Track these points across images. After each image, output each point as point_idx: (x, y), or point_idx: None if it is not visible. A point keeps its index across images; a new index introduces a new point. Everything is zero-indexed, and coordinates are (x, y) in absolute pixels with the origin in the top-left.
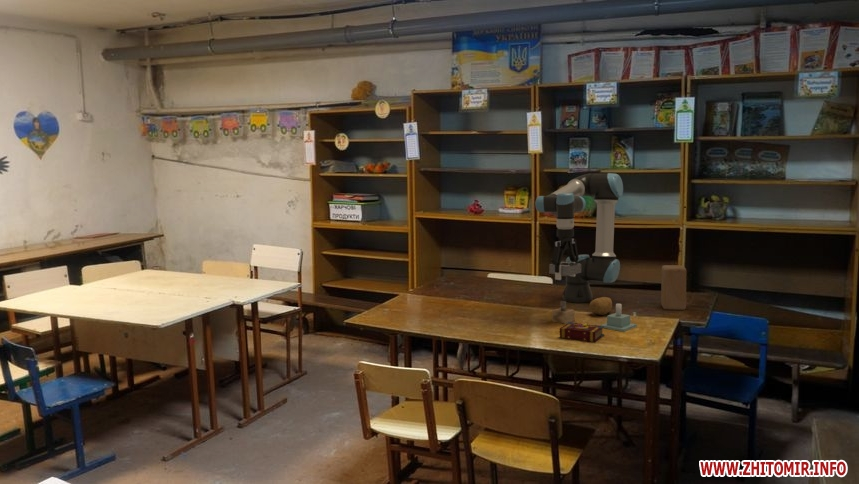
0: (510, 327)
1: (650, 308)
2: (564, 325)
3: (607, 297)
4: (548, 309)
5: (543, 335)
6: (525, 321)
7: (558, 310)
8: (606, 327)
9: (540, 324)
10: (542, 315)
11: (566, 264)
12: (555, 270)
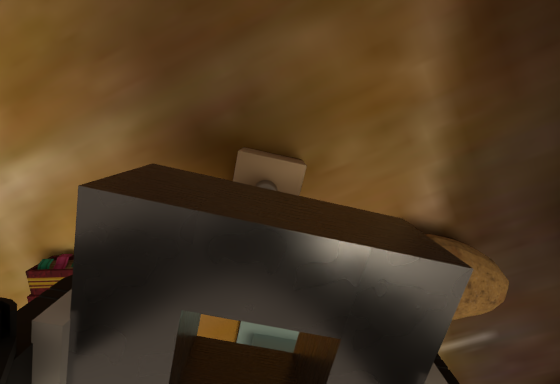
0: (65, 35)
1: (554, 360)
2: (71, 270)
3: (489, 306)
4: (433, 46)
5: (45, 199)
6: (188, 48)
7: (249, 175)
8: (238, 333)
9: (176, 126)
10: (317, 70)
11: (325, 360)
12: (54, 292)
